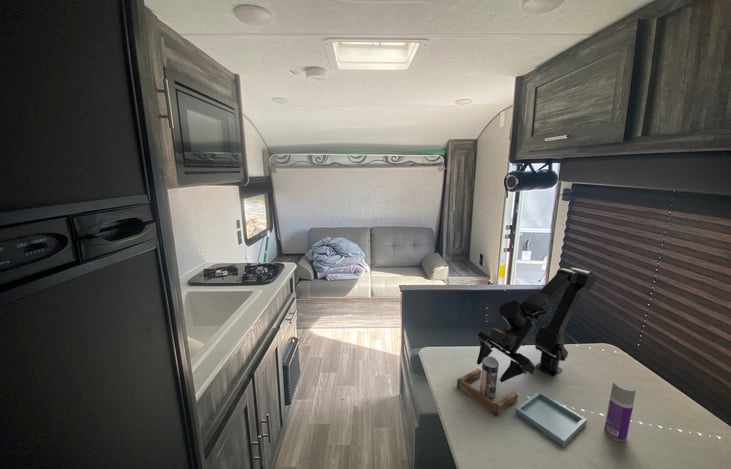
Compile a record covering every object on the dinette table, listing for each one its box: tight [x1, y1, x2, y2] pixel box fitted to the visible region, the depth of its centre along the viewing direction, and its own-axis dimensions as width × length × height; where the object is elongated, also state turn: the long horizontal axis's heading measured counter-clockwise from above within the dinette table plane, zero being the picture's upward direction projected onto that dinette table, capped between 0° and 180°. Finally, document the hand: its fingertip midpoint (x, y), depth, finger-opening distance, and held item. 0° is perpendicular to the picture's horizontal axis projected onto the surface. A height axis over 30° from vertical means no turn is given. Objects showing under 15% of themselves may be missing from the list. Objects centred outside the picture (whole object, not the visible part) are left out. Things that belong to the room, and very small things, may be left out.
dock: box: [456, 368, 519, 417], centre depth 94 cm, size 11×14×3 cm
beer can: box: [479, 355, 500, 399], centre depth 93 cm, size 5×5×12 cm
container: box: [603, 379, 637, 442], centre depth 78 cm, size 5×5×15 cm
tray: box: [514, 391, 588, 448], centre depth 84 cm, size 13×13×2 cm
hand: (488, 372), depth 93 cm, fingers open, 9 cm apart
